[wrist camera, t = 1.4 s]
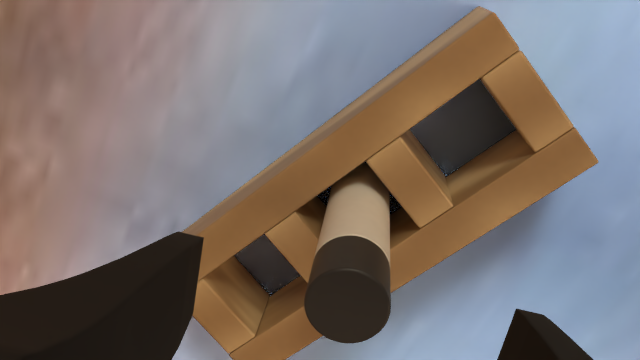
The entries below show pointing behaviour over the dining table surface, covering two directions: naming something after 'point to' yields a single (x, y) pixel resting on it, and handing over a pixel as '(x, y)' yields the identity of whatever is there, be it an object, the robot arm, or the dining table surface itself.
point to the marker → (352, 261)
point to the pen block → (386, 184)
